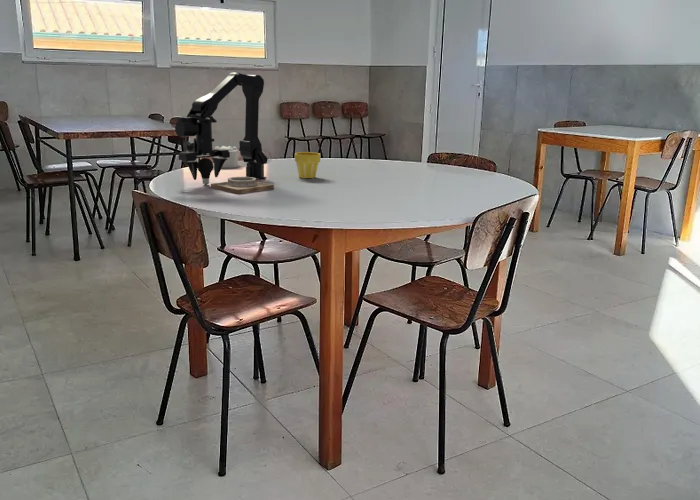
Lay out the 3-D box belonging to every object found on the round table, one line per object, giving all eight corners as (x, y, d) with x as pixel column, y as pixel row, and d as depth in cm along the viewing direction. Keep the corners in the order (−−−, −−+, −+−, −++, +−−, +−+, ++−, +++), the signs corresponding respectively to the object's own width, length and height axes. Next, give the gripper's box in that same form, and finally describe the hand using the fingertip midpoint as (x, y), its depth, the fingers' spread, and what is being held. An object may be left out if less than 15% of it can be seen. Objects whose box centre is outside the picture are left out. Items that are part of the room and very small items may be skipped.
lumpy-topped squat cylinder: (213, 167, 276) (212, 147, 274) (216, 163, 288) (215, 144, 286) (237, 167, 277) (236, 148, 275) (238, 163, 290) (238, 144, 287)
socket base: (246, 183, 238) (246, 174, 237) (273, 188, 227) (273, 179, 226) (210, 187, 226) (210, 178, 225) (238, 194, 216) (237, 184, 215)
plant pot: (325, 178, 254) (325, 154, 251) (303, 180, 248) (303, 155, 245) (311, 174, 262) (311, 151, 259) (289, 176, 256) (289, 152, 253)
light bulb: (210, 186, 228) (209, 159, 226) (195, 186, 230) (193, 158, 227) (216, 184, 234) (215, 157, 231) (201, 183, 235) (200, 156, 232)
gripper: (212, 132, 239) (214, 173, 243) (169, 135, 226) (171, 178, 230) (230, 135, 232) (231, 177, 236) (186, 137, 218) (188, 182, 222)
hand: (205, 178), depth 231 cm, fingers open, 9 cm apart
